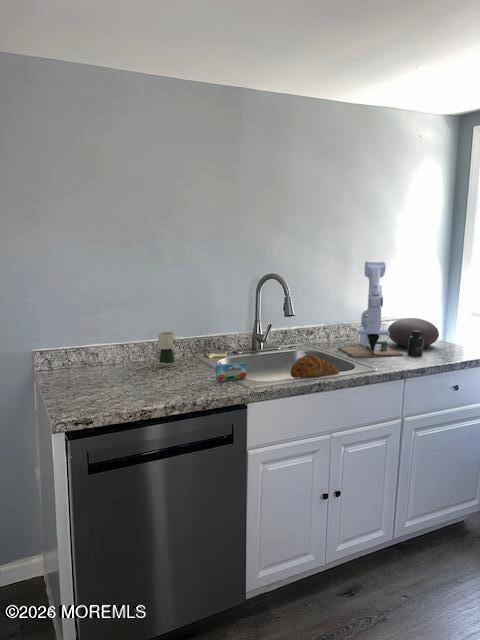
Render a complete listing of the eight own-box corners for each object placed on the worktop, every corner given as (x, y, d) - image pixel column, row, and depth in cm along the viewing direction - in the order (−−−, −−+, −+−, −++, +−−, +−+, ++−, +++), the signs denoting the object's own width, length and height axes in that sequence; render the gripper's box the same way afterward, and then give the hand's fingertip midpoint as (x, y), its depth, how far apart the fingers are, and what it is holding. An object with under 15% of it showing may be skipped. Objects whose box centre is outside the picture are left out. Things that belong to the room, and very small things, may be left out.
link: (365, 346, 233) (366, 336, 233) (373, 346, 233) (373, 336, 232) (372, 353, 218) (373, 342, 217) (380, 354, 218) (381, 342, 217)
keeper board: (338, 349, 233) (338, 338, 232) (384, 347, 237) (385, 337, 237) (353, 357, 215) (354, 346, 215) (403, 356, 220) (404, 345, 219)
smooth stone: (376, 343, 247) (378, 316, 245) (412, 340, 257) (415, 313, 255) (410, 354, 225) (412, 323, 222) (448, 350, 235) (451, 321, 232)
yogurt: (244, 377, 181) (244, 362, 180) (246, 378, 179) (246, 362, 178) (215, 380, 176) (215, 364, 175) (217, 381, 174) (217, 365, 173)
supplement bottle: (420, 358, 217) (422, 333, 215) (405, 356, 221) (407, 331, 219) (424, 355, 222) (426, 330, 220) (409, 353, 226) (411, 329, 224)
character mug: (177, 365, 196) (177, 335, 194) (160, 366, 194) (160, 336, 192) (172, 359, 206) (172, 330, 204) (156, 360, 204) (156, 331, 202)
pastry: (298, 381, 178) (298, 361, 176) (281, 372, 189) (282, 353, 188) (343, 376, 186) (344, 356, 184) (324, 368, 197) (325, 349, 196)
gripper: (360, 322, 214) (358, 351, 216) (392, 323, 214) (390, 352, 216) (356, 320, 221) (355, 348, 223) (387, 320, 221) (385, 349, 223)
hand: (372, 350), depth 220 cm, fingers closed
